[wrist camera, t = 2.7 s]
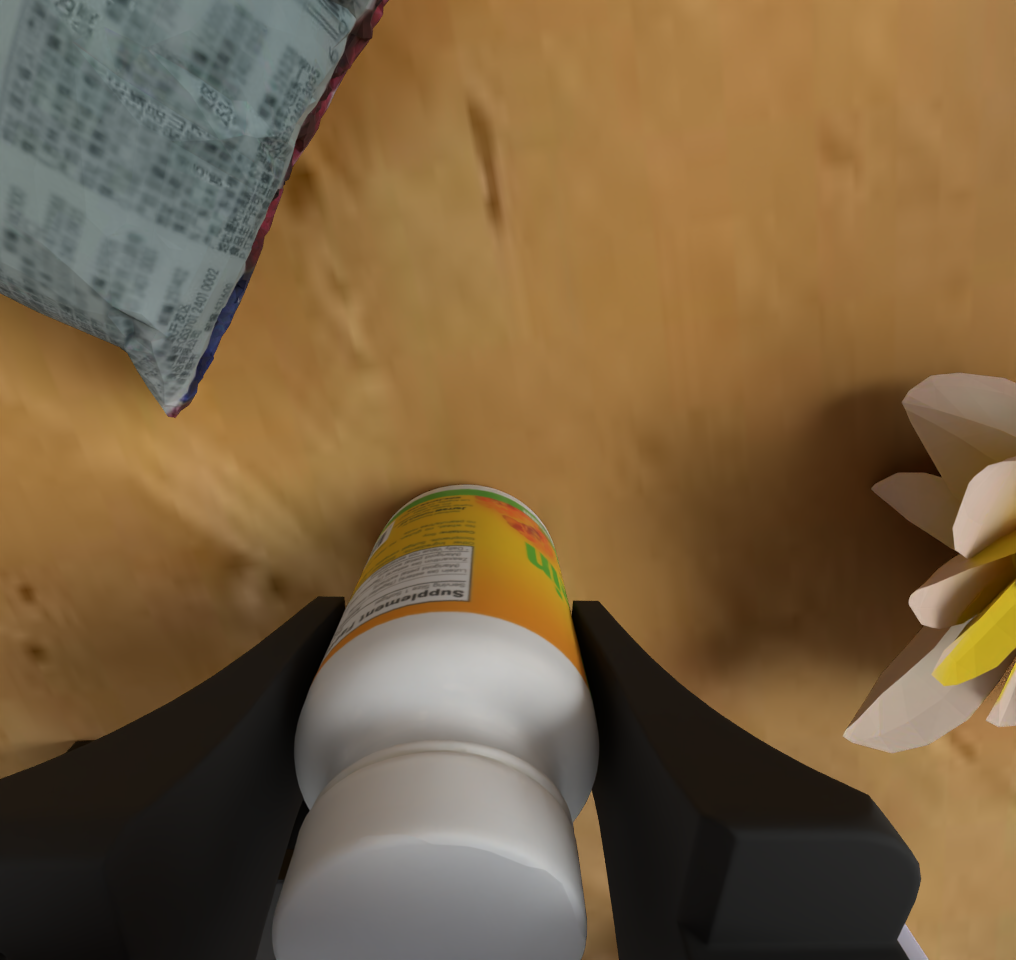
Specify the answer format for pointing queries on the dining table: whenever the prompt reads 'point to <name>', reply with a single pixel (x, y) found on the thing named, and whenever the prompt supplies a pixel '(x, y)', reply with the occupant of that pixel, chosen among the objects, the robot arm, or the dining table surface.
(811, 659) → the dining table surface
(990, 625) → the decorative flower
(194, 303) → the packaged food
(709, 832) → the robot arm
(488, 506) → the supplement bottle
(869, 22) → the dining table surface
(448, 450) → the dining table surface
